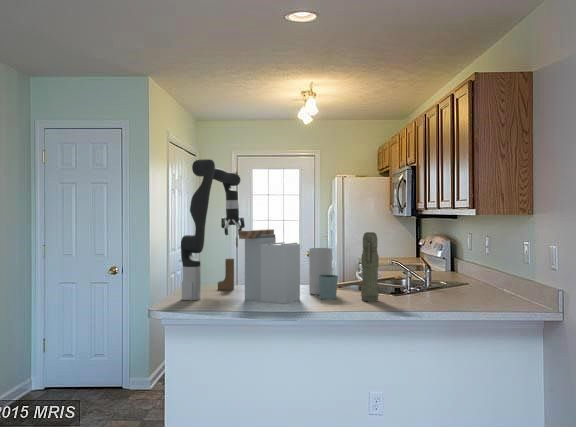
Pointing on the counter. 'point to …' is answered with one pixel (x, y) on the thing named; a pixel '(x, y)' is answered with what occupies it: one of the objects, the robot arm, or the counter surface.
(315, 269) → the cylinder vase
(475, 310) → the counter surface
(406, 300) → the counter surface
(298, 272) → the stand
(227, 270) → the wooden block
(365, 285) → the thermos
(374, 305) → the counter surface
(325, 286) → the teal cup
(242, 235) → the walnut bar
